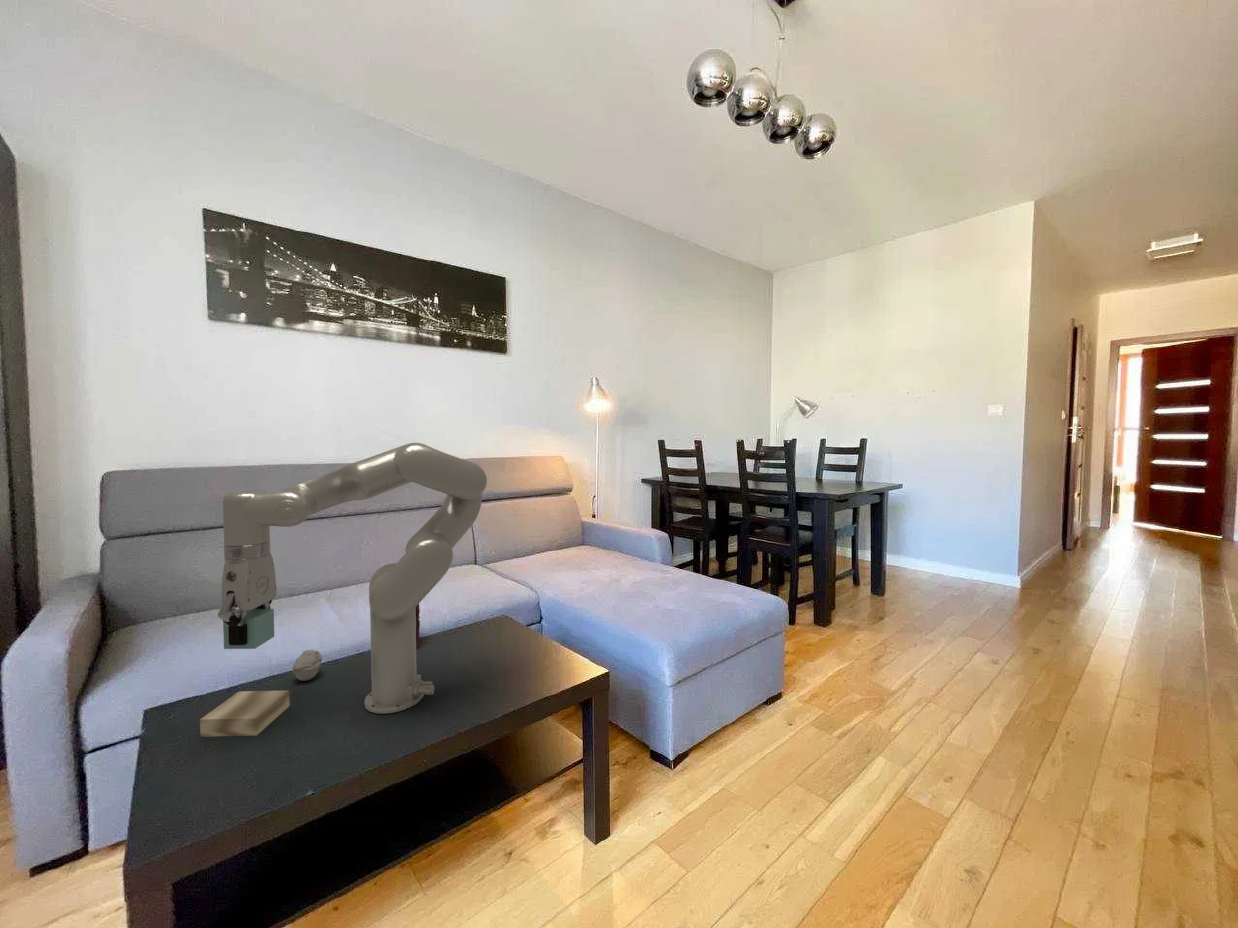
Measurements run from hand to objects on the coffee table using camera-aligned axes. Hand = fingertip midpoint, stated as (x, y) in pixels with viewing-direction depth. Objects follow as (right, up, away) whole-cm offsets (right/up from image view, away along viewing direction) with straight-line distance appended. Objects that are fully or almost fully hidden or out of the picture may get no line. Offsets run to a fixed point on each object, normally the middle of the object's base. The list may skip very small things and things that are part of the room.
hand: (249, 636), depth 102 cm
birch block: (-4, -20, +4) cm, 21 cm away
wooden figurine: (+13, -18, +43) cm, 48 cm away
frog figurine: (-2, -19, +22) cm, 29 cm away
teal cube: (0, -1, 0) cm, 1 cm away
